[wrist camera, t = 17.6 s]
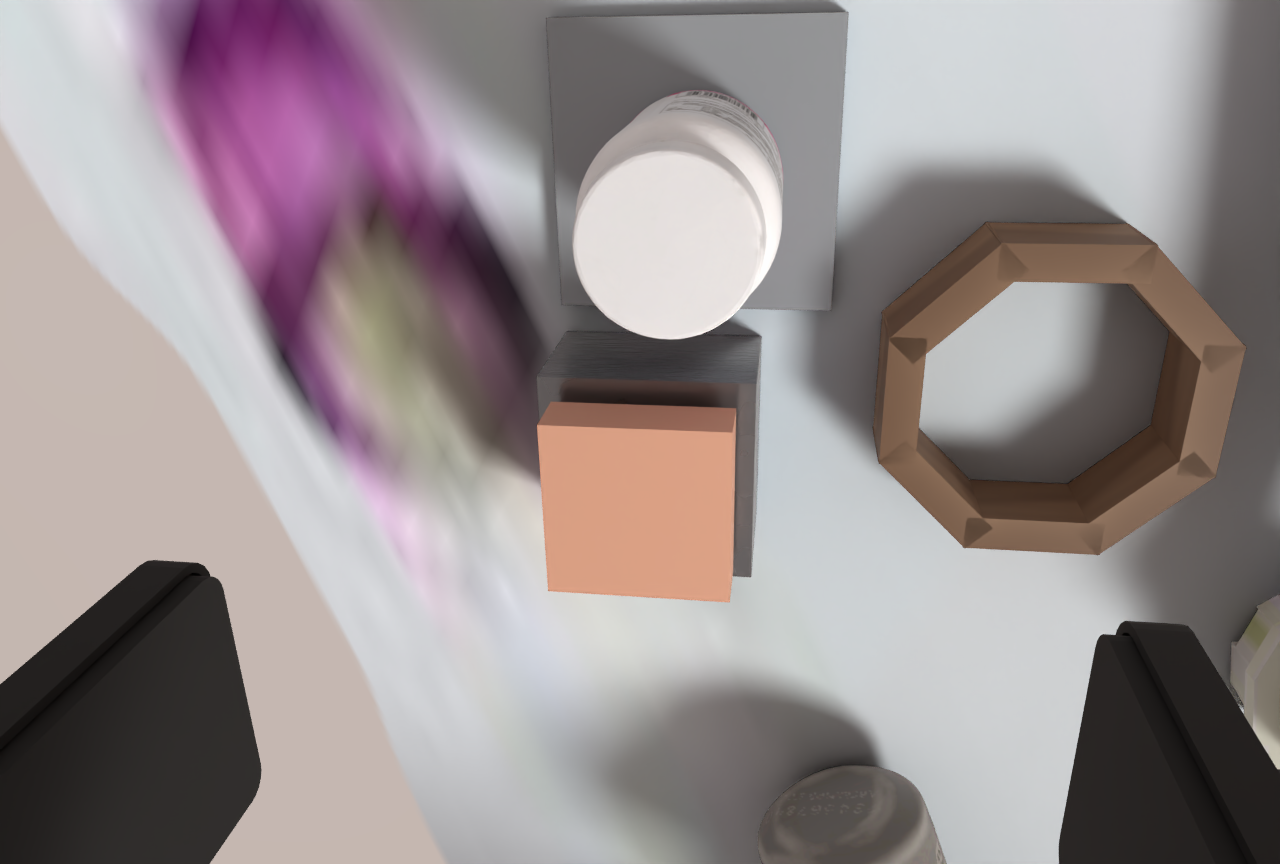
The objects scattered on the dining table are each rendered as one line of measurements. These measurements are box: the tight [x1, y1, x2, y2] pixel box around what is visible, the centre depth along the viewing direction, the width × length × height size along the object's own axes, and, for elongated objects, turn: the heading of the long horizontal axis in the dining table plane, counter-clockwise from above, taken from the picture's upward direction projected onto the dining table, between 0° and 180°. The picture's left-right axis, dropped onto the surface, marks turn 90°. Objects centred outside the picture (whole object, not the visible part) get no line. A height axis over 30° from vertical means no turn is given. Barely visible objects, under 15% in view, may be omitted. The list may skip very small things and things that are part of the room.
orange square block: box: [537, 402, 736, 602], centre depth 29 cm, size 5×5×5 cm
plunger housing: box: [536, 331, 762, 577], centre depth 30 cm, size 6×6×4 cm
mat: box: [546, 12, 849, 311], centre depth 28 cm, size 8×8×1 cm
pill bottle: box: [572, 90, 783, 339], centre depth 24 cm, size 5×5×8 cm
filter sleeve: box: [873, 222, 1247, 555], centre depth 28 cm, size 9×9×2 cm
